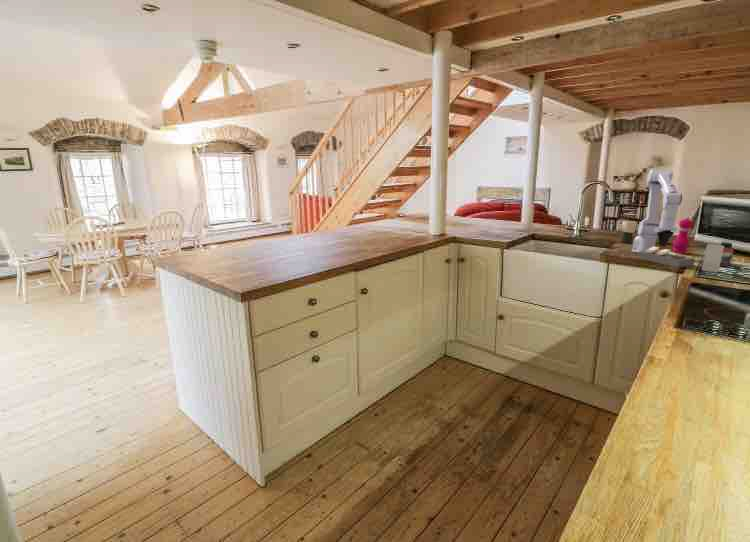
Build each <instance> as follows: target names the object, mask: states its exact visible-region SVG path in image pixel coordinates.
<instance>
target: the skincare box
mask: <svg viewBox="0 0 750 542" xmlns="http://www.w3.org/2000/svg"><path fill="white" fill-rule="evenodd" d="M723 249H724V246H721V244H720V245H719V244H713V243H711V244H710V243H707V245H706V248H705V252H704V256H703V261H702V262H703V263H702V266H701V271H704V272H710V273H719V271H720V267H721V266H720V262H721V258H722V254H723Z"/></svg>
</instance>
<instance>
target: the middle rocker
mask: <svg viewBox="0 0 750 542" xmlns="http://www.w3.org/2000/svg"><path fill="white" fill-rule="evenodd" d="M657 251H658V252H657V254H660V255H664V254H667V253H669V252H672V251H671V249H666V248H665V249H661V250H657Z"/></svg>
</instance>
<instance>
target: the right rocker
mask: <svg viewBox="0 0 750 542" xmlns="http://www.w3.org/2000/svg"><path fill="white" fill-rule="evenodd" d="M669 254H671V255H674V256H678V257H682V256H683V255H682V254H681V253H675V252H673V251H670V252H669Z"/></svg>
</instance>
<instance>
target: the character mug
mask: <svg viewBox="0 0 750 542" xmlns="http://www.w3.org/2000/svg"><path fill="white" fill-rule="evenodd" d="M638 228H639V224H637V221H633V220H623V221H622V223H620V224H619V226H618V229H619V230H621V231H622V234H621V237H620V241H619V242H622V243H628V244H630V243H632V242H633V233H635V231H638Z"/></svg>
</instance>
